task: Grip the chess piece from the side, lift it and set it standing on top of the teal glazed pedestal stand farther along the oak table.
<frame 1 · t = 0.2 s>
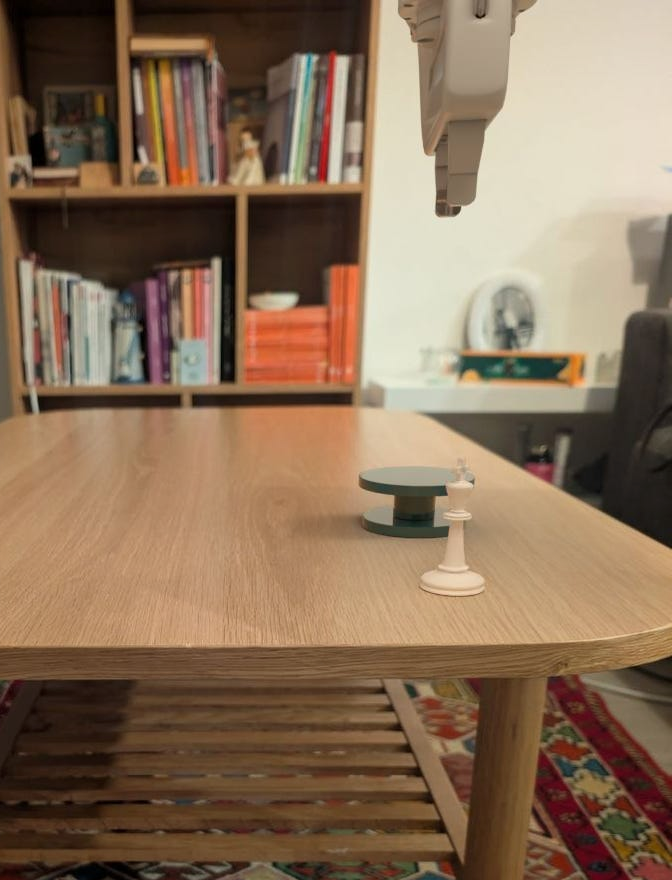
hand: (453, 211, 66), 27 cm above the table, tool pointing down, fingers open, 8 cm apart
stand: (413, 526, 93), on the table
chess piece: (451, 589, 74), on the table
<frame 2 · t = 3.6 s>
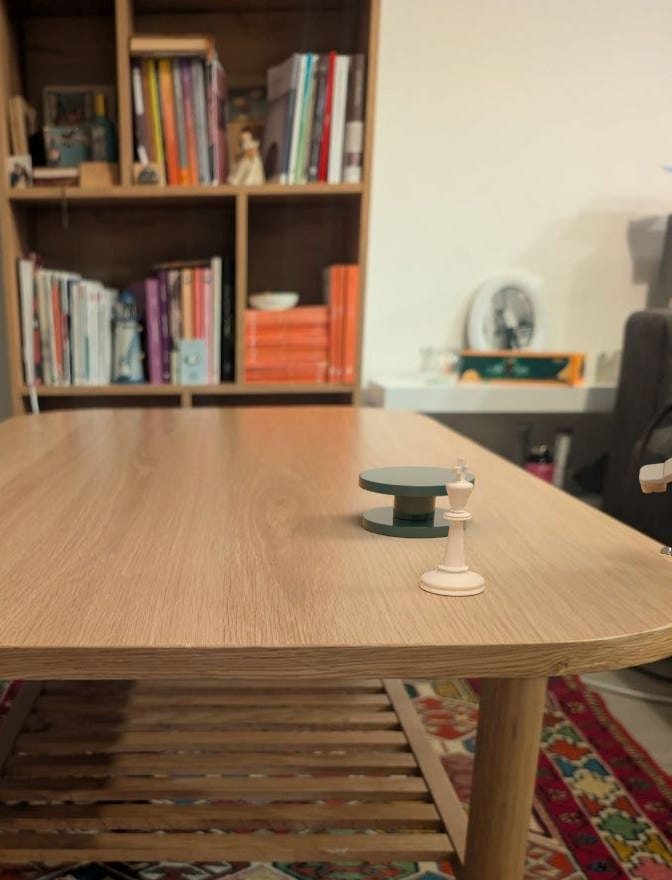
hand: (651, 521, 79), 3 cm above the table, tool horizontal, fingers open, 8 cm apart
nothing on the table moved.
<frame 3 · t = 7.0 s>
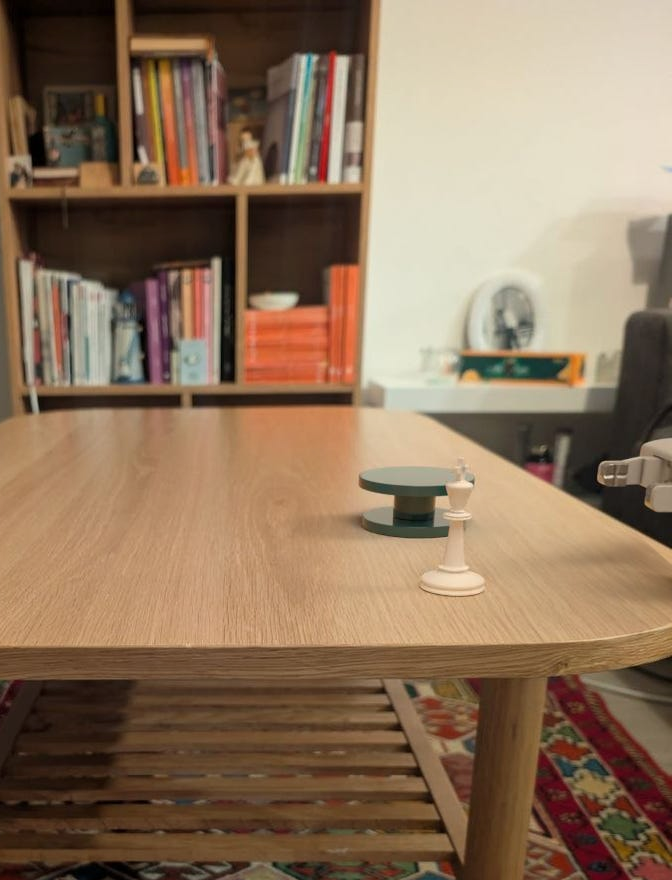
hand: (623, 484, 70), 8 cm above the table, tool horizontal, fingers open, 8 cm apart
nothing on the table moved.
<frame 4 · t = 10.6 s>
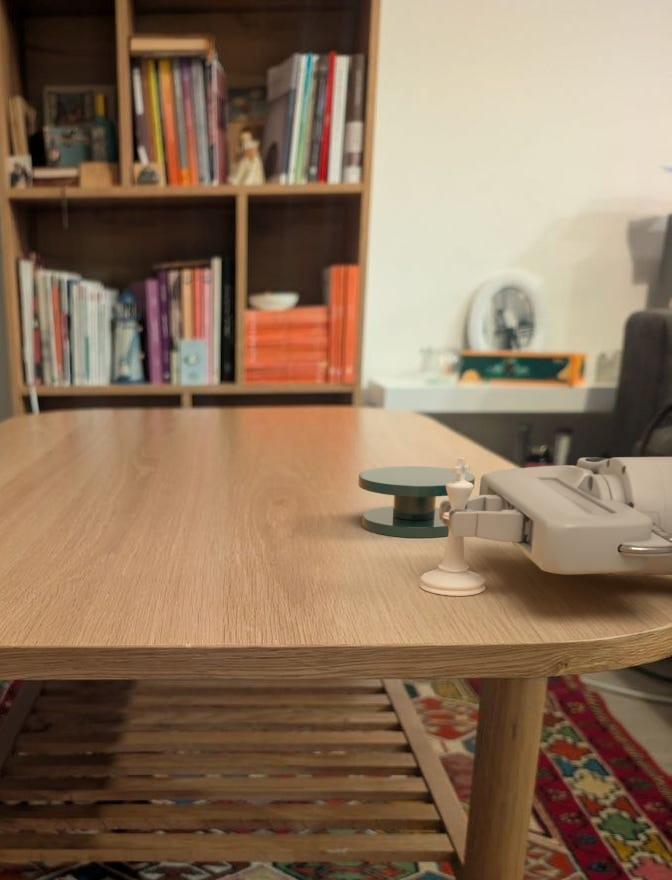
hand: (445, 517, 72), 6 cm above the table, tool horizontal, fingers closed on chess piece
chess piece: (451, 589, 74), on the table, touching gripper
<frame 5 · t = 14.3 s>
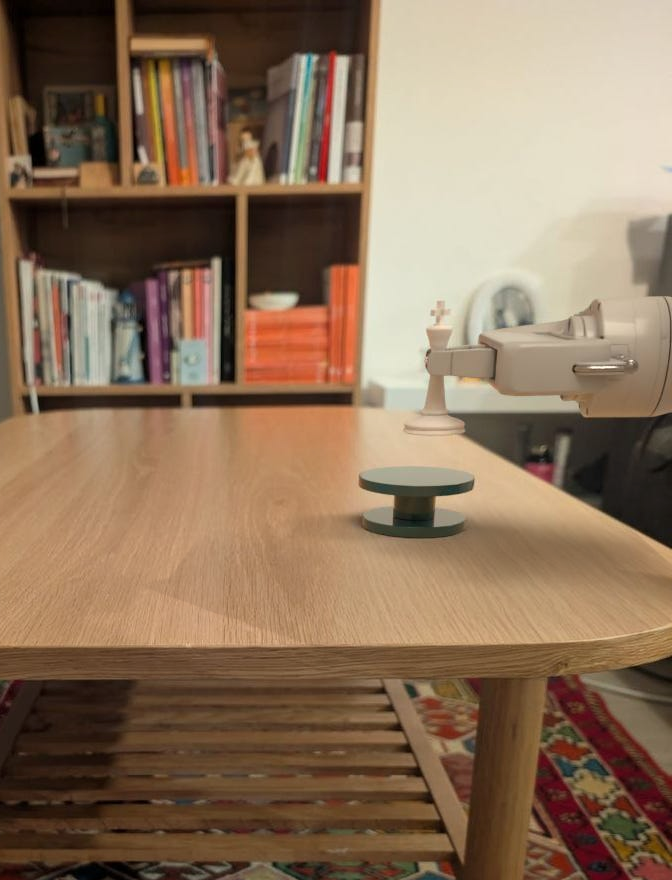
hand: (426, 361, 75), 17 cm above the table, tool horizontal, fingers closed on chess piece
chess piece: (433, 434, 77), point 11 cm above the table, touching gripper
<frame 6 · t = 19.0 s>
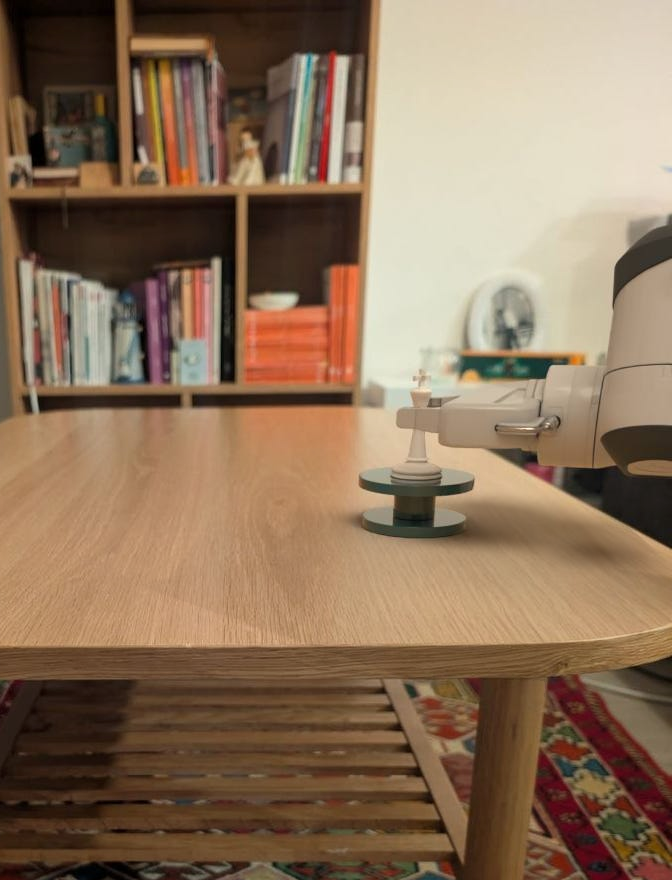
hand: (410, 411, 90), 11 cm above the table, tool horizontal, fingers open, 8 cm apart
chess piece: (415, 477, 92), point 5 cm above the table, touching stand
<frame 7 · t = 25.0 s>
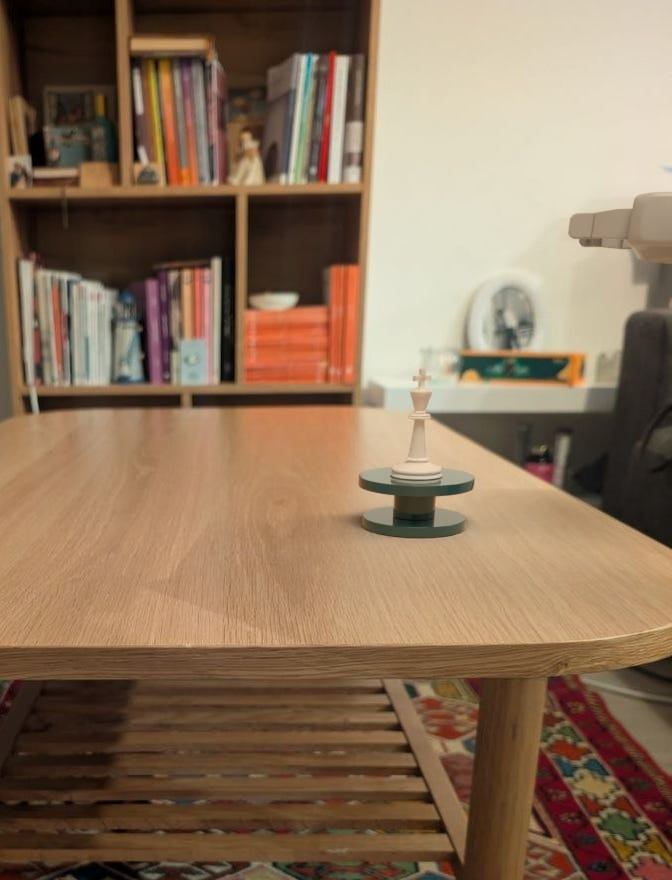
hand: (575, 231, 80), 26 cm above the table, tool horizontal, fingers open, 8 cm apart
nothing on the table moved.
at the end: chess piece inside the target area on the stand (0.1 cm from its centre), point 4.8 cm above the stand's base; chess piece tilted 0°; the gripper is holding nothing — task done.
